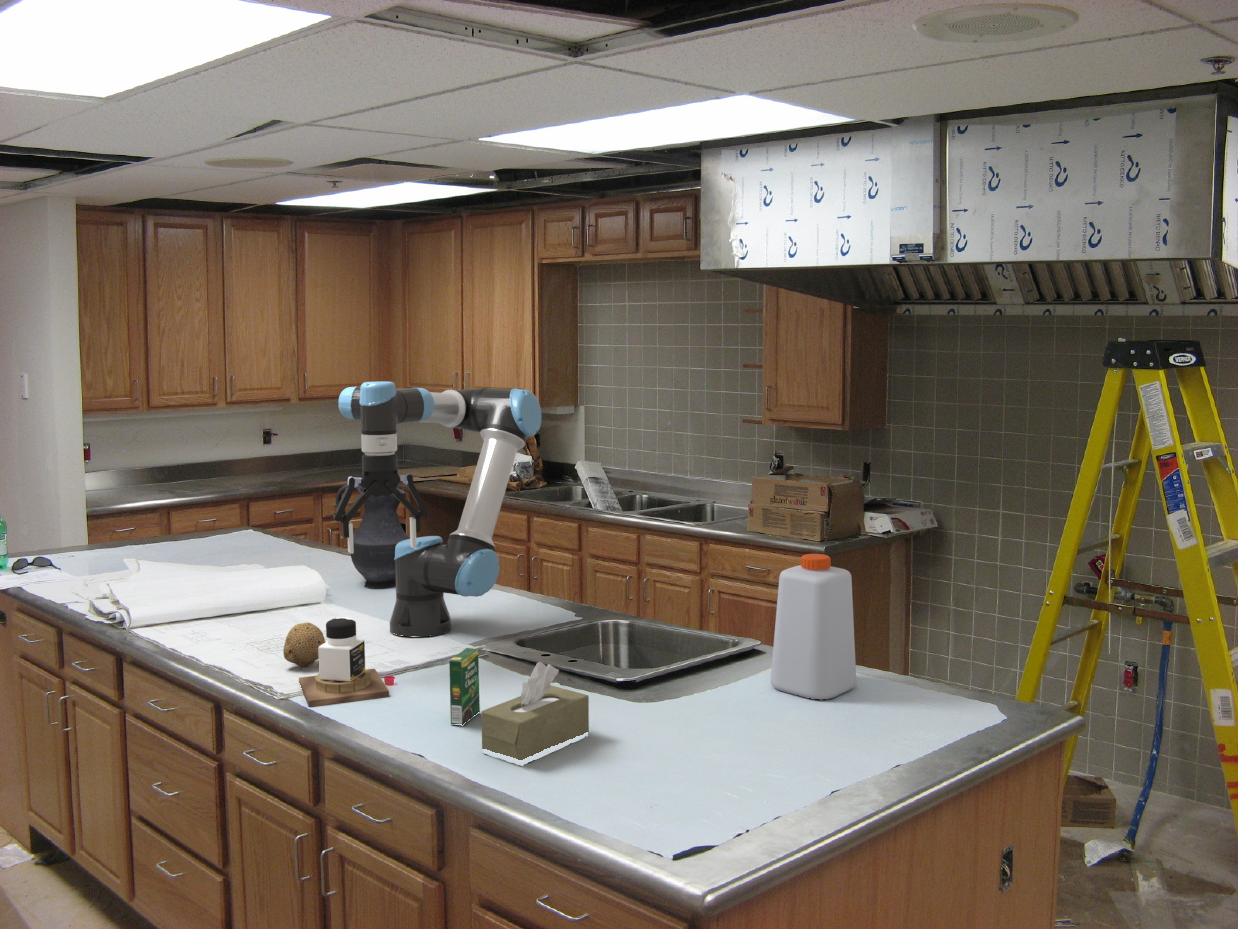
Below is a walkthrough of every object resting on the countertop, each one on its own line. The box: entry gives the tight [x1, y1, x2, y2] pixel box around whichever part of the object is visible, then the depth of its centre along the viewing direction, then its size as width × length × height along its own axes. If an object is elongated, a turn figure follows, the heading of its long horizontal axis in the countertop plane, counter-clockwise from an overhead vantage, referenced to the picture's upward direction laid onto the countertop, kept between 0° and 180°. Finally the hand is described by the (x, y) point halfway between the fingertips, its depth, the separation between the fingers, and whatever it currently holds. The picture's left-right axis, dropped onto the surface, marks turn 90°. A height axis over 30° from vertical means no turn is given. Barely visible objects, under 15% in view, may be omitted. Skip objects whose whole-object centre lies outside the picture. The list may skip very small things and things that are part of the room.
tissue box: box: [480, 661, 590, 760], centre depth 200 cm, size 19×10×16 cm, turn 142°
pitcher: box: [335, 484, 410, 590], centre depth 321 cm, size 17×21×30 cm
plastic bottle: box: [770, 553, 857, 701], centre depth 230 cm, size 15×15×28 cm
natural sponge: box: [283, 622, 326, 668], centre depth 246 cm, size 9×9×10 cm
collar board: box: [298, 668, 390, 708], centre depth 231 cm, size 16×16×3 cm
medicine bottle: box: [318, 617, 366, 682], centre depth 230 cm, size 7×7×12 cm
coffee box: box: [448, 647, 481, 725], centre depth 213 cm, size 8×3×13 cm, turn 163°
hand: (382, 550), depth 242 cm, fingers open, 13 cm apart
